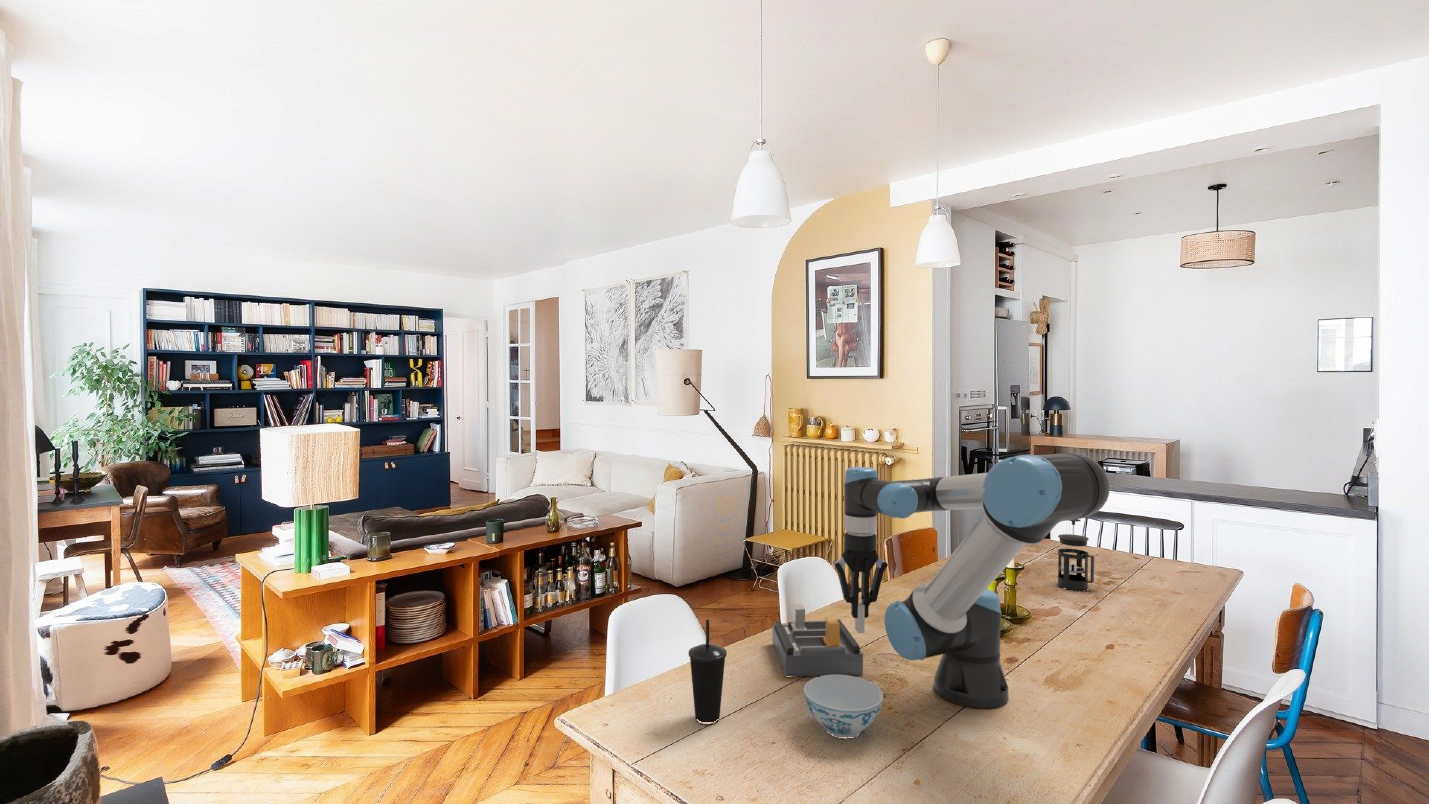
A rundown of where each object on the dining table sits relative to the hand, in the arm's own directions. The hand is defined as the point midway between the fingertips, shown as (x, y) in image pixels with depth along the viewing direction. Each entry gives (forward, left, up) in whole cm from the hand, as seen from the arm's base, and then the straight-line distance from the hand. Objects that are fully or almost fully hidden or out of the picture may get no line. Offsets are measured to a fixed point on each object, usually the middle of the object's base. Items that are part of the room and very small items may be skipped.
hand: (859, 630), depth 158 cm
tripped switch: (0, +7, -3) cm, 7 cm away
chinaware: (-29, +12, -9) cm, 33 cm away
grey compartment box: (+5, +10, -9) cm, 14 cm away
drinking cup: (-23, +38, -9) cm, 45 cm away
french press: (+57, -89, -9) cm, 106 cm away
